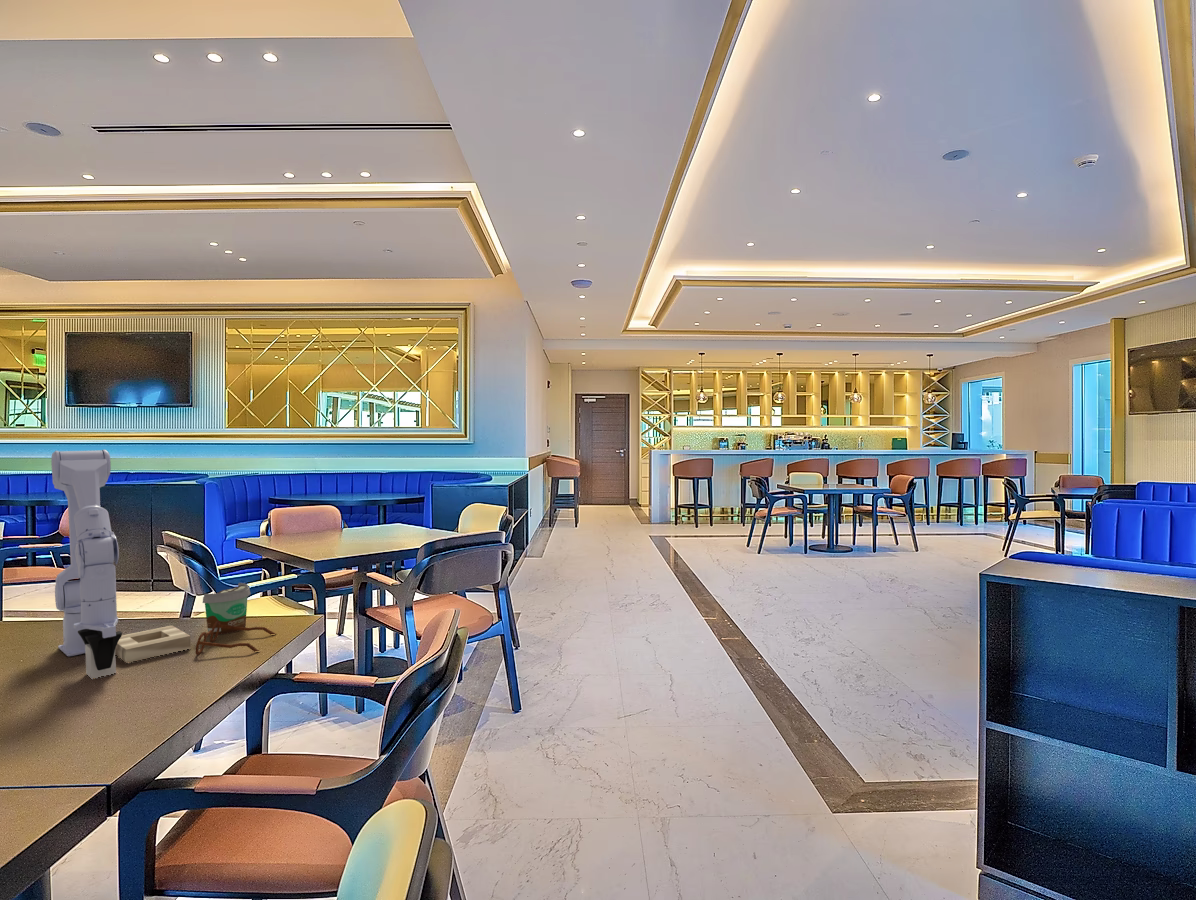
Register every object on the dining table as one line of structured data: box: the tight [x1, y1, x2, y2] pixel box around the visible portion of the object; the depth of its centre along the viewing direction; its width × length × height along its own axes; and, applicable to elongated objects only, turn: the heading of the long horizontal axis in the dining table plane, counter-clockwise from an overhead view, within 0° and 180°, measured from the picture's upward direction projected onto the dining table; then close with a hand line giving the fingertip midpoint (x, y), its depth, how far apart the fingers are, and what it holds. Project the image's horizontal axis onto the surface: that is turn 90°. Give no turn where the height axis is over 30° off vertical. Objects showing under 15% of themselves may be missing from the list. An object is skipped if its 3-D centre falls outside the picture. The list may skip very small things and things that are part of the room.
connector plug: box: [84, 644, 117, 680], centre depth 134 cm, size 4×4×6 cm
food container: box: [202, 582, 252, 636], centre depth 163 cm, size 12×6×10 cm, turn 168°
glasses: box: [195, 621, 276, 656], centre depth 152 cm, size 13×13×5 cm
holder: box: [115, 625, 192, 664], centre depth 149 cm, size 12×12×3 cm
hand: (100, 666), depth 134 cm, fingers closed on connector plug, 4 cm apart
